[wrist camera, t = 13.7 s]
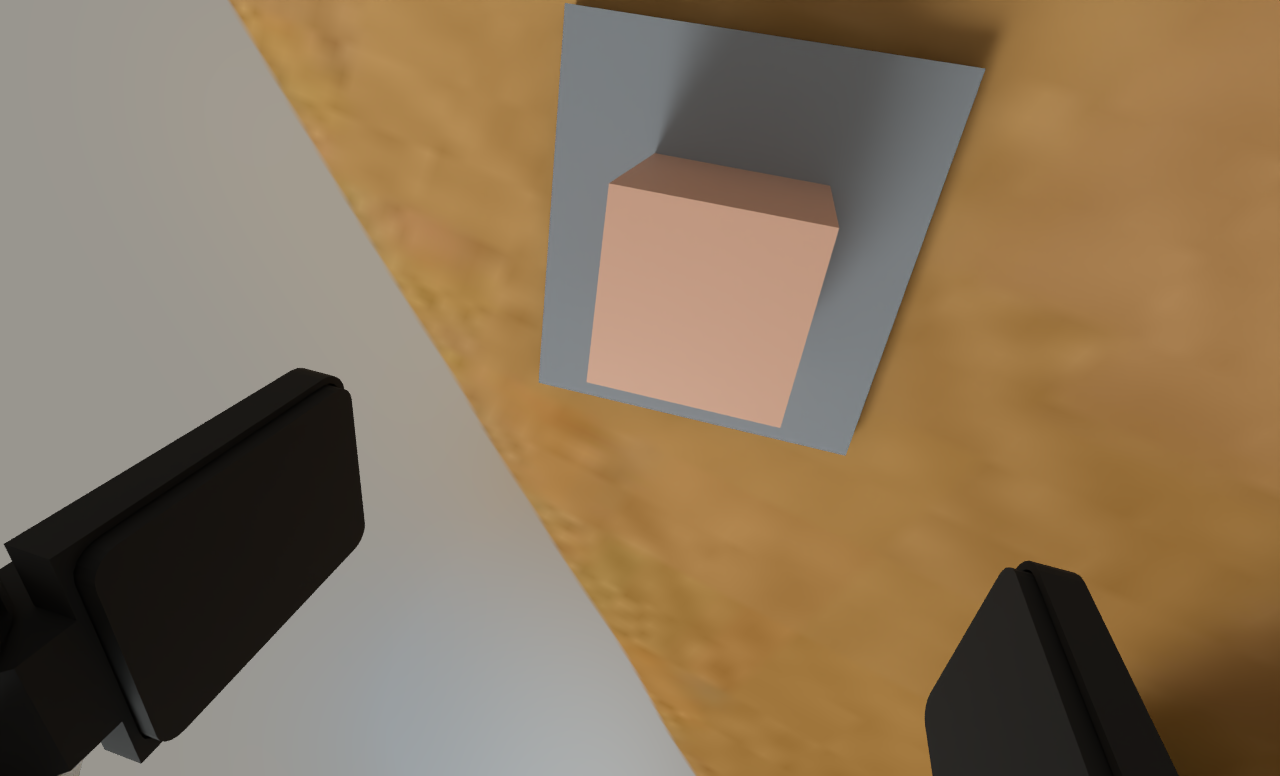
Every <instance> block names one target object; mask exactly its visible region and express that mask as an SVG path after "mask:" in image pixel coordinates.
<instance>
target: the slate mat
mask: <svg viewBox="0 0 1280 776" xmlns="http://www.w3.org/2000/svg"><path fill="white" fill-rule="evenodd" d="M984 72H985V68H978V67H972V66H965V65H959V64H953V63H946V62H940V61H933V60H927V59H921V58H914V57H908V56H901V55H895V54H889V53H882V52H876V51H869V50H863V49H856V48H850V47H844V46H837V45H831V44H824V43H818V42H812V41H805V40H799V39H792V38H786V37H779V36H773V35H767V34H760V33H754V32H747V31H741V30H735V29H728V28H722V27H715V26H709V25H702V24H696V23H690V22H683V21H677V20H670V19H664V18H658V17H651V16H645V15H638V14H632V13H625V12H619V11H613V10H606V9H600V8H593V7H587V6H581V5H574V4H568V3H565V11H564V26H563V40H562V55H561V69H560V83H559V98H558V112H557V127H556V141H555V155H554V170H553V184H552V199H551V213H550V227H549V242H548V256H547V271H546V285H545V299H544V314H543V328H542V343H541V357H540V371H539V383H543V384H547V385H551V386H555V387H559V388H564V389H568V390H572V391H576V392H580V393H585V394H589V395H593V396H597V397H601V398H606V399H610V400H614V401H618V402H622V403H627V404H631V405H635V406H639V407H644V408H648V409H652V410H656V411H660V412H665V413H669V414H673V415H677V416H681V417H686V418H690V419H694V420H698V421H702V422H707V423H711V424H715V425H719V426H723V427H728V428H732V429H736V430H740V431H744V432H749V433H753V434H757V435H761V436H765V437H770V438H774V439H778V440H782V441H786V442H791V443H795V444H799V445H803V446H807V447H812V448H816V449H820V450H824V451H828V452H833V453H837V454H841V455H845V456H846V453H847V450H848V447H849V445H850V442H851V439H852V436H853V434H854V431H855V428H856V425H857V423H858V420H859V417H860V414H861V411H862V409H863V406H864V403H865V400H866V398H867V395H868V392H869V389H870V387H871V384H872V381H873V378H874V376H875V373H876V370H877V367H878V364H879V362H880V359H881V356H882V353H883V351H884V348H885V345H886V342H887V340H888V337H889V334H890V331H891V329H892V326H893V323H894V320H895V318H896V315H897V312H898V309H899V306H900V304H901V301H902V298H903V295H904V293H905V290H906V287H907V284H908V282H909V279H910V276H911V273H912V271H913V268H914V265H915V262H916V259H917V257H918V254H919V251H920V248H921V246H922V243H923V240H924V237H925V235H926V232H927V229H928V226H929V224H930V221H931V218H932V215H933V213H934V210H935V207H936V204H937V201H938V199H939V196H940V193H941V190H942V188H943V185H944V182H945V179H946V177H947V174H948V171H949V168H950V166H951V163H952V160H953V157H954V154H955V152H956V149H957V146H958V143H959V141H960V138H961V135H962V132H963V130H964V127H965V124H966V121H967V119H968V116H969V113H970V110H971V107H972V105H973V102H974V99H975V96H976V94H977V91H978V88H979V85H980V83H981V80H982V77H983V74H984ZM654 153H657V154H662V155H668V156H673V157H678V158H684V159H689V160H695V161H700V162H705V163H711V164H716V165H721V166H727V167H732V168H738V169H743V170H748V171H754V172H759V173H765V174H770V175H775V176H781V177H786V178H791V179H797V180H802V181H808V182H813V183H818V184H824V185H829V186H830V187H831V192H832V196H833V201H834V206H835V210H836V215H837V220H838V224H839V231H838V234H837V237H836V241H835V244H834V248H833V251H832V254H831V258H830V261H829V265H828V268H827V271H826V275H825V278H824V282H823V285H822V288H821V292H820V295H819V298H818V302H817V305H816V309H815V312H814V315H813V319H812V322H811V326H810V329H809V332H808V336H807V339H806V343H805V346H804V349H803V353H802V356H801V360H800V363H799V366H798V370H797V373H796V376H795V380H794V383H793V387H792V390H791V393H790V397H789V400H788V404H787V407H786V410H785V414H784V417H783V421H782V424H781V427H780V428H778V427H774V426H770V425H765V424H761V423H757V422H753V421H748V420H744V419H740V418H736V417H731V416H727V415H723V414H719V413H715V412H710V411H706V410H702V409H698V408H693V407H689V406H685V405H681V404H677V403H672V402H668V401H664V400H660V399H655V398H651V397H647V396H643V395H639V394H634V393H630V392H626V391H622V390H617V389H613V388H609V387H605V386H601V385H596V384H592V383H588V382H587V373H588V364H589V355H590V346H591V337H592V329H593V320H594V311H595V302H596V293H597V284H598V275H599V267H600V258H601V249H602V240H603V231H604V222H605V213H606V205H607V196H608V187H609V183H610V182H612V181H613V180H615V179H616V178H618V177H619V176H621V175H622V174H624V173H625V172H627V171H628V170H630V169H631V168H633V167H635V166H636V165H638V164H639V163H641V162H642V161H644V160H645V159H647V158H648V157H650V156H651V155H653V154H654Z"/></svg>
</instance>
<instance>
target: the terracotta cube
mask: <svg viewBox="0 0 1280 776" xmlns="http://www.w3.org/2000/svg"><path fill="white" fill-rule="evenodd" d="M838 231H839V224H838V220H837V215H836V210H835V206H834V201H833V196H832V192H831V187H830V186H829V185H824V184H818V183H813V182H808V181H802V180H797V179H791V178H786V177H781V176H775V175H770V174H765V173H759V172H754V171H748V170H743V169H738V168H732V167H727V166H721V165H716V164H711V163H705V162H700V161H695V160H689V159H684V158H678V157H673V156H668V155H662V154H657V153H654V154H653V155H651V156H650V157H648V158H647V159H645V160H644V161H642V162H641V163H639V164H638V165H636V166H635V167H633V168H631V169H630V170H628V171H627V172H625V173H624V174H622V175H621V176H619V177H618V178H616V179H615V180H613V181H612V182H610V183H609V187H608V196H607V205H606V213H605V222H604V231H603V240H602V249H601V258H600V267H599V275H598V284H597V293H596V302H595V311H594V320H593V329H592V337H591V346H590V355H589V364H588V373H587V382H588V383H592V384H596V385H601V386H605V387H609V388H613V389H617V390H622V391H626V392H630V393H634V394H639V395H643V396H647V397H651V398H655V399H660V400H664V401H668V402H672V403H677V404H681V405H685V406H689V407H693V408H698V409H702V410H706V411H710V412H715V413H719V414H723V415H727V416H731V417H736V418H740V419H744V420H748V421H753V422H757V423H761V424H765V425H770V426H774V427H778V428H780V427H781V424H782V421H783V417H784V414H785V410H786V407H787V404H788V400H789V397H790V393H791V390H792V387H793V383H794V380H795V376H796V373H797V370H798V366H799V363H800V360H801V356H802V353H803V349H804V346H805V343H806V339H807V336H808V332H809V329H810V326H811V322H812V319H813V315H814V312H815V309H816V305H817V302H818V298H819V295H820V292H821V288H822V285H823V282H824V278H825V275H826V271H827V268H828V265H829V261H830V258H831V254H832V251H833V248H834V244H835V241H836V237H837V234H838Z"/></svg>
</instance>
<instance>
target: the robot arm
mask: <svg viewBox="0 0 1280 776" xmlns="http://www.w3.org/2000/svg"><path fill="white" fill-rule="evenodd" d="M364 528H365V522H364V512H363V502H362V493H361V483H360V475H359V465H358V455H357V447H356V437H355V427H354V417H353V408H352V399H351V395H350V393H349V392H348V391H347V390H345V389H344V386H343V383H342V382H341V381H340V379H338V378H337V377H335V376H331V375H327V374H323V373H319V372H316V371H312V370H308V369H305V368H297V369H294V370H292V371H290V372H288V373H286V374H285V375H283V376H281V377H280V378H278V379H276V380H275V381H273V382H272V383H270V384H268V385H267V386H265V387H263V388H262V389H260V390H258V391H257V392H255V393H253V394H252V395H250V396H248V397H247V398H245V399H243V400H242V401H240V402H238V403H237V404H235V405H233V406H232V407H230V408H228V409H227V410H225V411H224V412H222V413H220V414H219V415H217V416H215V417H214V418H212V419H210V420H209V421H207V422H205V423H204V424H202V425H200V426H199V427H197V428H195V429H194V430H192V431H190V432H189V433H187V434H185V435H184V436H182V437H180V438H179V439H177V440H175V441H174V442H172V443H170V444H169V445H167V446H166V447H164V448H162V449H161V450H159V451H157V452H156V453H154V454H152V455H151V456H149V457H147V458H146V459H144V460H142V461H141V462H139V463H137V464H136V465H134V466H132V467H131V468H129V469H128V470H126V471H124V472H122V473H121V474H120V475H118V476H116V477H114V478H112V479H111V480H109V481H108V482H106V483H104V484H103V485H101V486H99V487H98V488H96V489H94V490H93V491H91V492H89V493H88V494H86V495H85V496H83V497H81V498H80V499H78V500H76V501H74V502H73V503H71V504H69V505H68V506H66V507H64V508H63V509H61V510H60V511H58V512H56V513H55V514H53V515H51V516H50V517H48V518H46V519H45V520H43V521H41V522H40V523H38V524H36V525H35V526H33V527H31V528H30V529H28V530H26V531H25V532H23V533H21V534H20V535H18V536H16V537H15V538H13V539H11V540H10V541H8V542H6V543H5V544H4V545H5V547H6V549H7V551H8V553H9V555H10V558H11V560H12V562H11V563H9V564H8V565H6V566H4V567H3V568H1V569H0V776H79V774H80V770H81V765H82V761H83V759H84V758H85V757H86V756H87V755H88V754H89V753H90V752H91V751H92V750H93V749H94V748H95V747H96V746H97V745H98V744H99V743H100V742H101V743H102V745H103V747H104V749H105V750H108V751H110V752H113V753H115V754H118V755H120V756H123V757H126V758H128V759H131V760H134V761H136V762H139V763H142V762H143V761H144V760H145V759H146V758H147V757H148V756H149V755H150V754H151V753H152V752H153V751H154V750H155V749H156V748H157V747H158V746H159V744H160V743H161V742H162V741H169V740H172V739H173V738H175V737H177V736H178V735H179V734H180V733H181V732H183V731H184V730H185V729H186V728H187V727H188V726H189V725H190V724H191V723H192V721H193V720H194V719H195V718H196V717H197V716H198V715H199V714H200V713H201V712H202V711H203V710H204V709H205V708H206V707H207V706H208V705H209V703H210V702H211V701H212V700H213V699H214V698H215V697H216V696H217V695H218V694H219V693H220V692H221V691H222V690H223V689H224V687H225V686H226V685H227V684H228V683H229V682H230V681H231V680H232V679H233V678H234V677H235V676H236V675H237V674H238V673H239V671H240V670H241V669H242V668H243V667H244V666H245V665H246V664H247V663H248V662H249V661H250V660H251V659H252V658H253V657H254V656H255V654H256V653H257V652H258V651H259V650H260V649H261V648H262V647H263V646H264V645H265V644H266V643H267V642H268V641H269V640H270V638H271V637H272V636H273V635H274V634H275V633H276V632H277V631H278V630H279V629H280V628H281V627H282V625H284V624H285V623H286V622H287V620H288V619H289V618H290V617H291V616H292V615H293V614H294V613H295V612H296V610H298V609H299V608H300V606H302V604H303V603H304V602H305V601H306V600H307V599H308V598H309V597H310V596H311V595H312V594H313V593H314V592H315V590H317V588H318V587H319V586H320V585H321V584H322V583H323V582H324V581H325V580H326V579H327V578H328V576H330V575H331V574H332V573H333V571H334V570H335V569H336V568H337V567H338V566H339V565H340V564H341V563H342V562H343V561H344V560H345V559H346V558H347V557H348V556H349V554H350V553H351V552H352V551H353V550H354V549H355V548H356V547H357V545H358V544H359V542H360V540H361V538H362V536H363V533H364ZM925 727H926V734H927V741H928V747H929V754H930V761H931V768H932V774H933V776H1179V775H1178V773H1177V771H1176V769H1175V767H1174V765H1173V763H1172V761H1171V759H1170V757H1169V755H1168V753H1167V751H1166V749H1165V746H1164V744H1163V742H1162V740H1161V738H1160V736H1159V734H1158V732H1157V730H1156V728H1155V726H1154V724H1153V722H1152V720H1151V718H1150V716H1149V714H1148V712H1147V709H1146V707H1145V705H1144V703H1143V701H1142V699H1141V697H1140V695H1139V693H1138V691H1137V689H1136V687H1135V685H1134V683H1133V681H1132V679H1131V677H1130V674H1129V672H1128V670H1127V668H1126V666H1125V664H1124V662H1123V660H1122V658H1121V656H1120V654H1119V652H1118V650H1117V648H1116V646H1115V644H1114V642H1113V640H1112V637H1111V635H1110V633H1109V631H1108V629H1107V627H1106V625H1105V623H1104V621H1103V619H1102V617H1101V615H1100V613H1099V611H1098V609H1097V607H1096V605H1095V602H1094V600H1093V598H1092V596H1091V594H1090V592H1089V590H1088V588H1087V586H1086V584H1085V582H1084V581H1083V579H1082V578H1081V576H1079V575H1077V574H1076V573H1073V572H1070V571H1066V570H1062V569H1058V568H1054V567H1051V566H1047V565H1043V564H1039V563H1036V562H1032V561H1024V562H1023V563H1021V564H1020V565H1019V566H1018V567H1017V568H1016V569H1014V568H1005V569H1004V570H1003V571H1002V572H1001V573H1000V575H999V576H998V578H997V580H996V581H995V583H994V585H993V586H992V588H991V590H990V592H989V593H988V595H987V597H986V599H985V600H984V602H983V604H982V605H981V607H980V609H979V611H978V612H977V614H976V616H975V617H974V619H973V621H972V623H971V624H970V626H969V628H968V629H967V631H966V633H965V635H964V636H963V638H962V640H961V642H960V643H959V645H958V647H957V648H956V650H955V652H954V654H953V655H952V657H951V659H950V660H949V662H948V664H947V666H946V667H945V669H944V671H943V672H942V674H941V676H940V678H939V679H938V681H937V683H936V684H935V686H934V688H933V690H932V691H931V693H930V695H929V697H928V700H927V704H926V709H925Z"/></svg>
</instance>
